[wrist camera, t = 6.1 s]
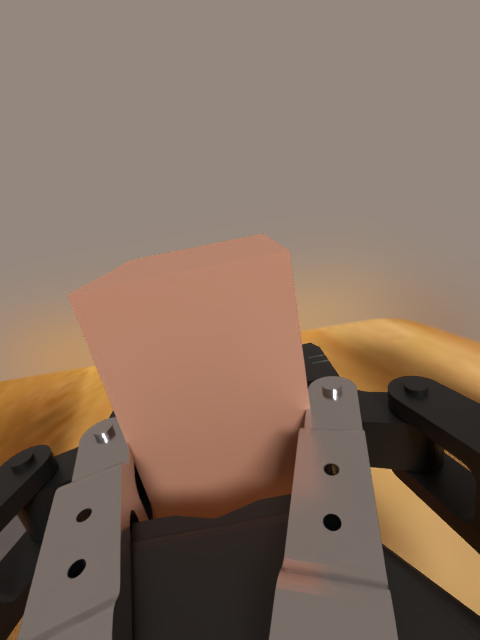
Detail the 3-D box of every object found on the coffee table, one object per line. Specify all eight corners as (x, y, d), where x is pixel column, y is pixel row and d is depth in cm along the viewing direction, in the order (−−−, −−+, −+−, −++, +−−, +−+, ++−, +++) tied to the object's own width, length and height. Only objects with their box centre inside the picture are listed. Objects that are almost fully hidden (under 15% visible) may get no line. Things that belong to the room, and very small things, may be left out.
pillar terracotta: (203, 637, 10) (67, 294, 6) (209, 512, 14) (131, 260, 10) (337, 614, 10) (289, 250, 6) (304, 495, 14) (263, 233, 10)
